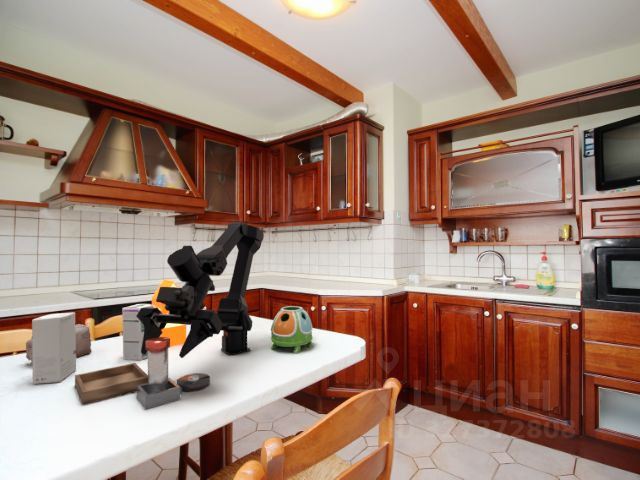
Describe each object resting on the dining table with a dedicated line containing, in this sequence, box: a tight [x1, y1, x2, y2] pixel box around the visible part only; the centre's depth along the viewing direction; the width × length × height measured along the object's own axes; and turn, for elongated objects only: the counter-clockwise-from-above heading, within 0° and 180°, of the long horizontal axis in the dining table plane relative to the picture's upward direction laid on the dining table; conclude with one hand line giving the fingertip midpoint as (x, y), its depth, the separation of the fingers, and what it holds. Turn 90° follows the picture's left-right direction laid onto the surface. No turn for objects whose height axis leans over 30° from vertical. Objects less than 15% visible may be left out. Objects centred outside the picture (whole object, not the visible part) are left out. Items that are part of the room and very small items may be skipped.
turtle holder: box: [270, 305, 314, 354], centre depth 110 cm, size 12×18×12 cm
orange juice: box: [151, 279, 187, 348], centre depth 113 cm, size 8×9×20 cm
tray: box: [74, 362, 148, 406], centre depth 78 cm, size 12×12×2 cm
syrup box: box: [121, 303, 154, 361], centre depth 99 cm, size 6×6×14 cm
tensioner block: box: [135, 372, 211, 410], centre depth 75 cm, size 15×9×2 cm, turn 131°
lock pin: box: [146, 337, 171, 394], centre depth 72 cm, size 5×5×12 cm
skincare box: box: [31, 312, 77, 385], centre depth 84 cm, size 8×6×15 cm
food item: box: [25, 324, 92, 363], centre depth 98 cm, size 14×8×10 cm, turn 156°
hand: (161, 355), depth 73 cm, fingers open, 9 cm apart
